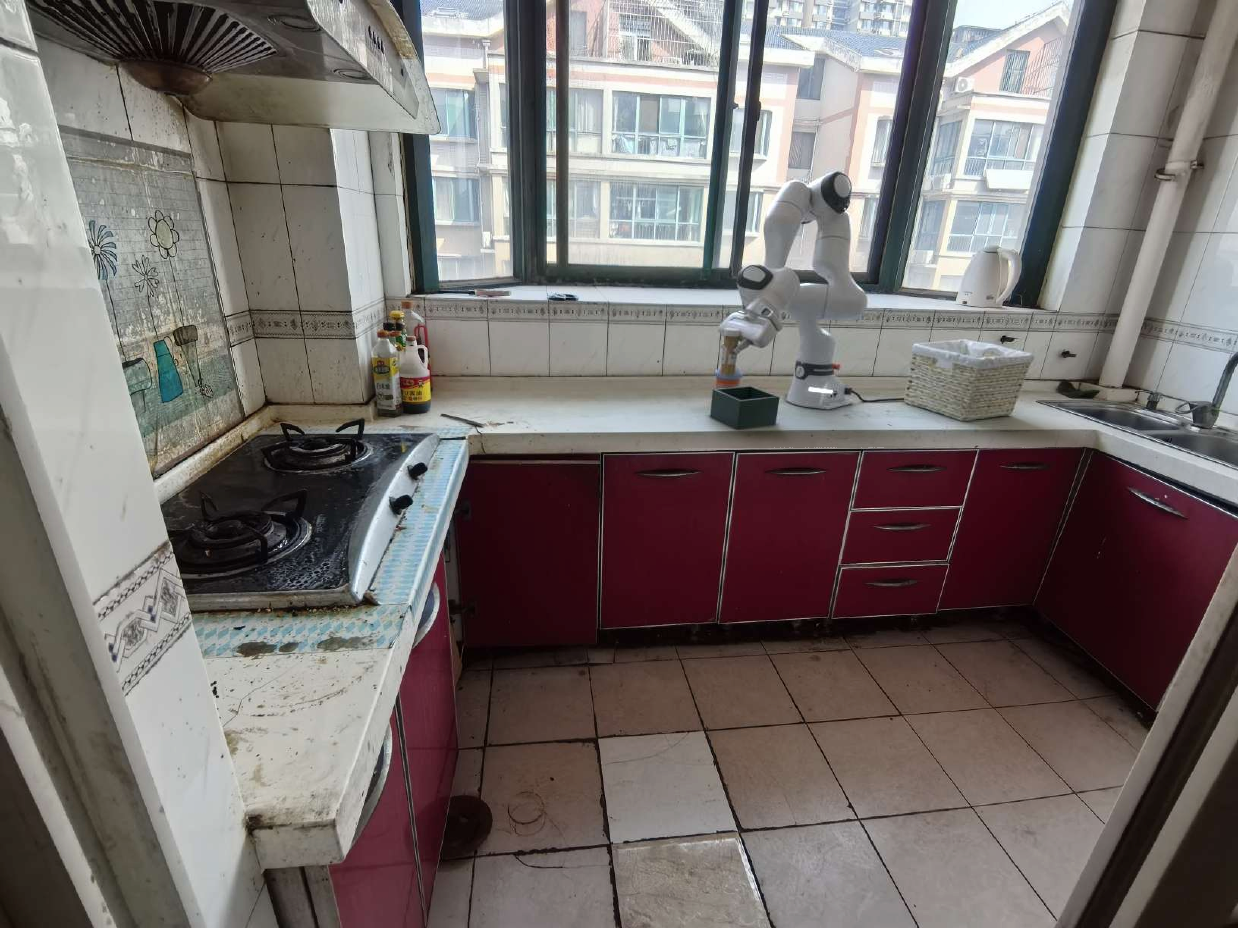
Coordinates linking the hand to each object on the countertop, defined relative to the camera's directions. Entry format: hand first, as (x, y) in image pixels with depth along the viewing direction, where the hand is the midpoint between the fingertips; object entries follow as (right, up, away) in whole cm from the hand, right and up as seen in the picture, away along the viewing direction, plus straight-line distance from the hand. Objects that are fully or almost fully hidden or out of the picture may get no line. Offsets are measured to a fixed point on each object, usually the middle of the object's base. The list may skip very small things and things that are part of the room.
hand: (728, 350), depth 174 cm
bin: (+6, -20, +7) cm, 22 cm away
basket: (+84, -15, +30) cm, 90 cm away
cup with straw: (+3, -13, +24) cm, 28 cm away
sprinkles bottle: (0, -7, +3) cm, 7 cm away
